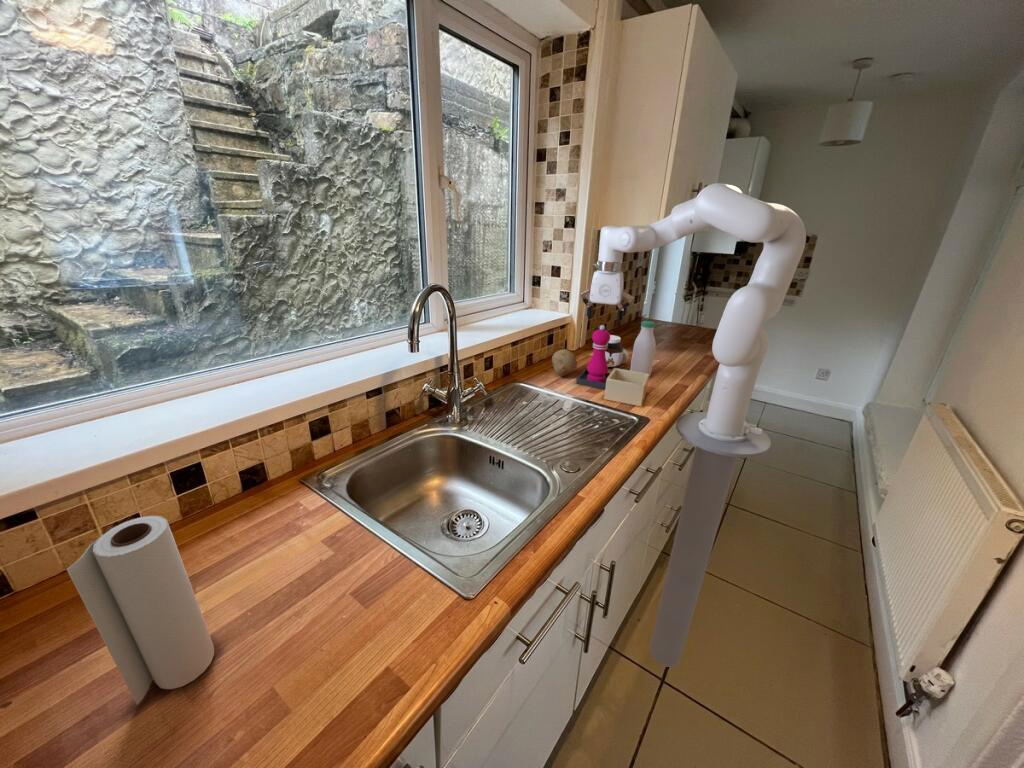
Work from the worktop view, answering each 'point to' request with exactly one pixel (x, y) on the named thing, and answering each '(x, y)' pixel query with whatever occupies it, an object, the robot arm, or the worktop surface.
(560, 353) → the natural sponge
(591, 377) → the pepper mill
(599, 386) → the tray
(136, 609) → the paper towel roll
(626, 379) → the open box
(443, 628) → the worktop surface
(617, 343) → the spread jar
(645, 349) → the milk bottle
